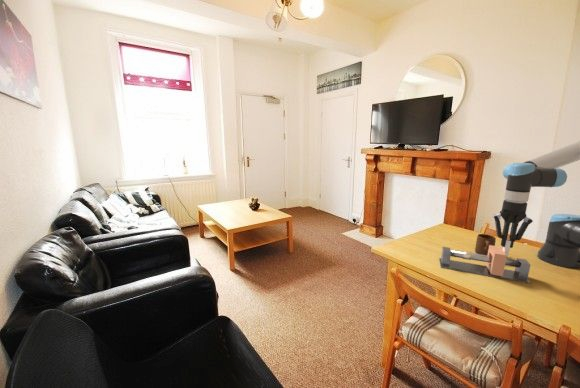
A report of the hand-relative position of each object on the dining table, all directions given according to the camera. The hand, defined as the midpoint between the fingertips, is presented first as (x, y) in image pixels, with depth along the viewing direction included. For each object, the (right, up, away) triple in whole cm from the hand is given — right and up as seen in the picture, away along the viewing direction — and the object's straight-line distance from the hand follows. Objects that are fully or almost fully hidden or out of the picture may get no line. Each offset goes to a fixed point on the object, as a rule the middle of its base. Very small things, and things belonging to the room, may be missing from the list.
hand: (505, 253), depth 111 cm
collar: (-2, -8, +3) cm, 9 cm away
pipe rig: (-7, -9, +5) cm, 12 cm away
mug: (+6, -6, +20) cm, 22 cm away
